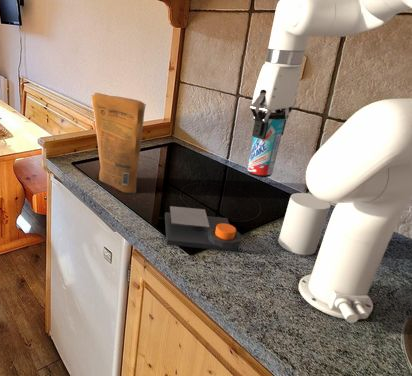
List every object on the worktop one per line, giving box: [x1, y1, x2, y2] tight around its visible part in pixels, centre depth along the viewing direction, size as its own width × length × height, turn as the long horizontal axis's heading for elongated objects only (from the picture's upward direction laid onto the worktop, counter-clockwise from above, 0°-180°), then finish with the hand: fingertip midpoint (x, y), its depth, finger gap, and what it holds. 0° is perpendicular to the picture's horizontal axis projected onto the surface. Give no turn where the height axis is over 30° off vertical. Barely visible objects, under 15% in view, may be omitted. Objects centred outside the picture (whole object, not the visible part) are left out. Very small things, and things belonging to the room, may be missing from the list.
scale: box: [164, 211, 243, 253], centre depth 100 cm, size 15×17×3 cm
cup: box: [277, 192, 331, 256], centre depth 95 cm, size 8×8×12 cm
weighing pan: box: [169, 205, 210, 228], centre depth 102 cm, size 9×9×1 cm
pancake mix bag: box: [90, 92, 147, 194], centre depth 120 cm, size 7×19×28 cm, turn 39°
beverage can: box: [246, 111, 286, 178], centre depth 99 cm, size 6×6×15 cm
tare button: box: [215, 223, 237, 240], centre depth 95 cm, size 4×4×2 cm
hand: (267, 135), depth 98 cm, fingers closed on beverage can, 6 cm apart
